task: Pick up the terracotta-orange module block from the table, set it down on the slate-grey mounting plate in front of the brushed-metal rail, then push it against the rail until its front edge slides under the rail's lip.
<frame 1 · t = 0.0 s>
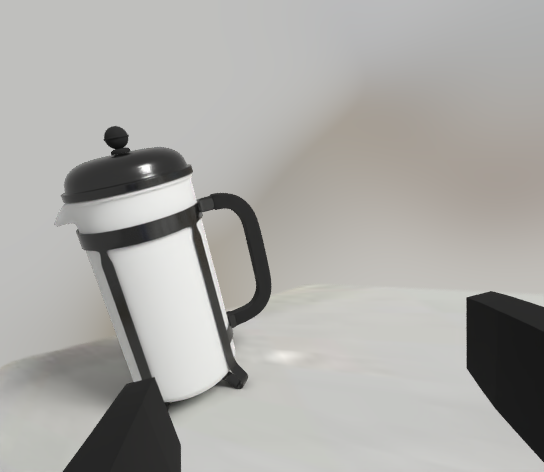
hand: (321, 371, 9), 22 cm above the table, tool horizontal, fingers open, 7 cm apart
coffee press: (201, 376, 47), on the table
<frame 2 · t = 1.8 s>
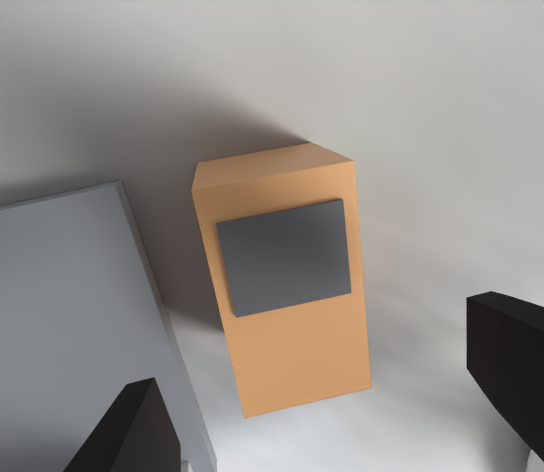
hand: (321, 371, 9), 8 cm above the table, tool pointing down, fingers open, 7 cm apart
module: (270, 245, 16), on the table
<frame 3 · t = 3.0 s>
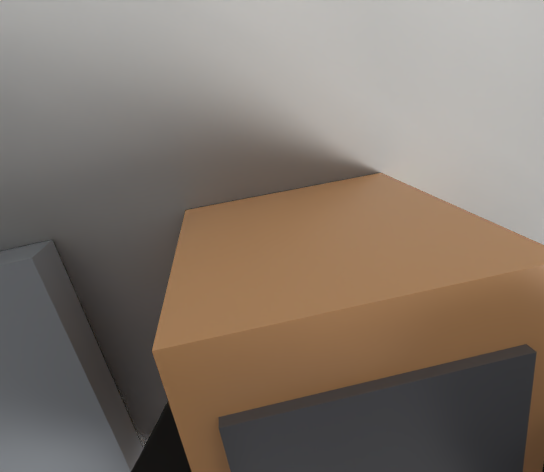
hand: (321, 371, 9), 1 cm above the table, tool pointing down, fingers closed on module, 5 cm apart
module: (306, 337, 10), on the table, touching gripper
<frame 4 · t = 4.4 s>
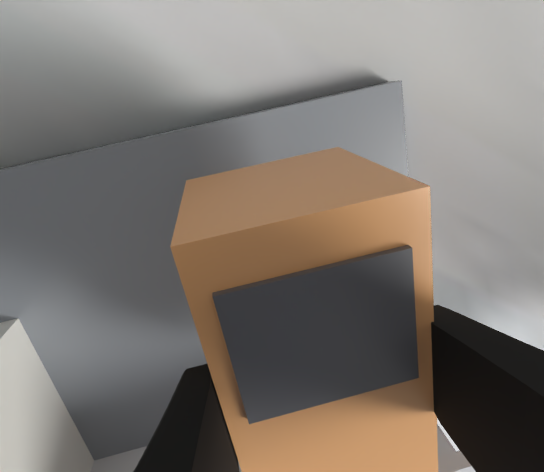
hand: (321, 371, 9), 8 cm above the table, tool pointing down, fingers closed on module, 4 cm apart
module: (286, 282, 12), point 4 cm above the table, touching gripper
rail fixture: (168, 313, 17), on the table
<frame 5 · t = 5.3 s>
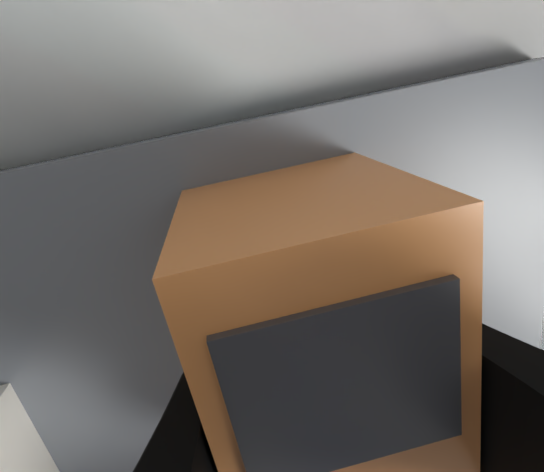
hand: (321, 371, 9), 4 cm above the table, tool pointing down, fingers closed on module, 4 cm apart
module: (295, 305, 11), point 1 cm above the table, touching gripper, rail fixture
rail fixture: (213, 368, 13), on the table
when the fingers open (3 cm above the table, at t = 5.8 s): module stays where it is, resting on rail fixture.
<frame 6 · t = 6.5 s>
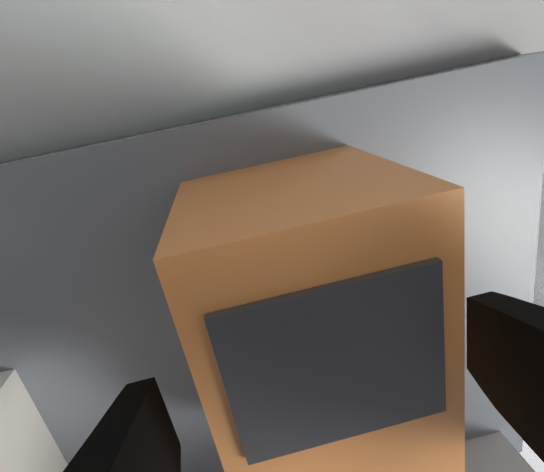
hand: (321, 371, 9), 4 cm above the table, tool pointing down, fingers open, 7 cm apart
module: (291, 294, 11), point 1 cm above the table, touching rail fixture
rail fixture: (211, 356, 13), on the table
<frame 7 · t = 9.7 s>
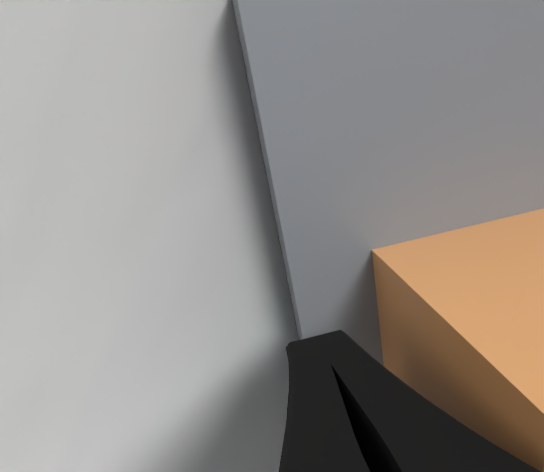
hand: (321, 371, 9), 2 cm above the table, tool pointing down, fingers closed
module: (525, 292, 10), point 1 cm above the table, touching gripper
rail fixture: (541, 345, 12), on the table
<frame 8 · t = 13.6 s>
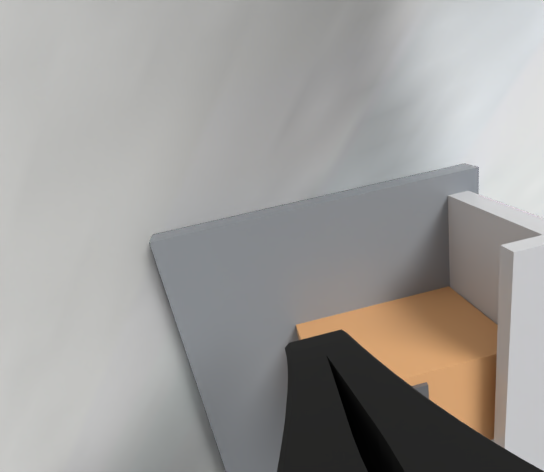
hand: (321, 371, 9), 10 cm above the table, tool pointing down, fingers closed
module: (377, 341, 20), point 1 cm above the table, touching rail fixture
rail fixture: (342, 382, 22), on the table
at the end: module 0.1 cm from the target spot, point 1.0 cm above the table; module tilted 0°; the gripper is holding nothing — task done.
